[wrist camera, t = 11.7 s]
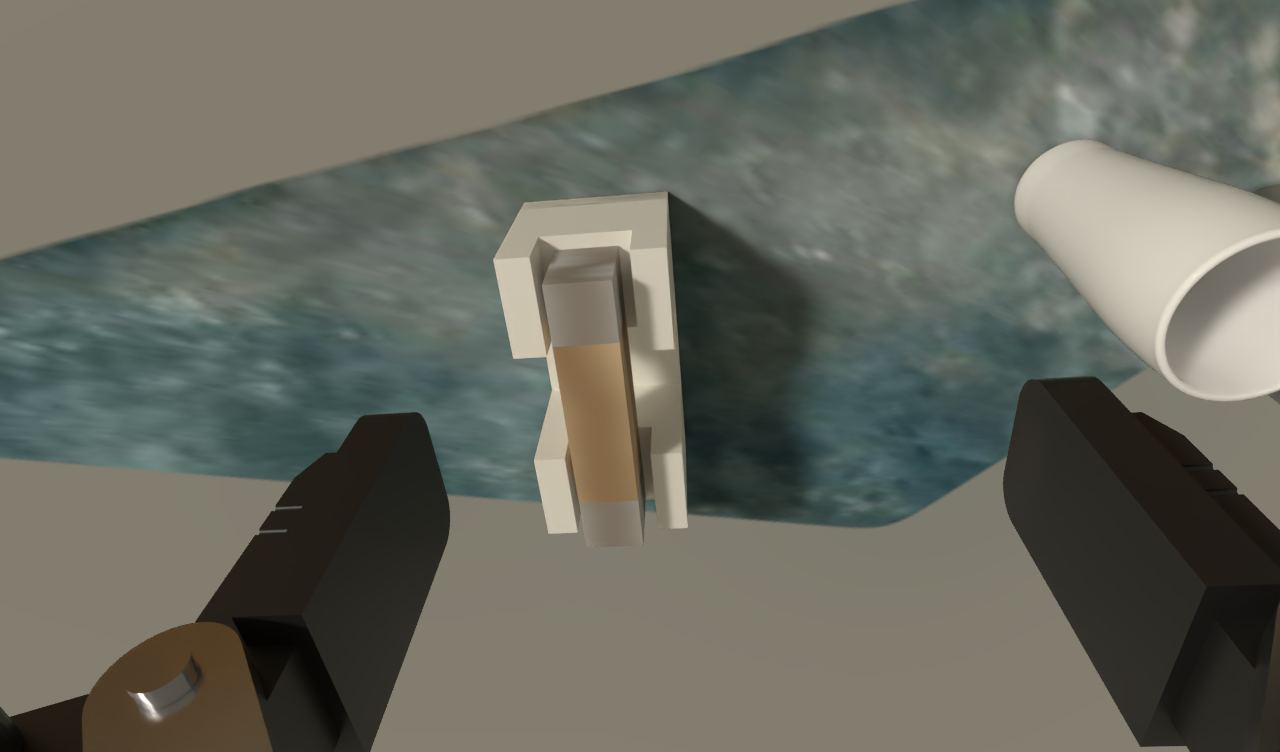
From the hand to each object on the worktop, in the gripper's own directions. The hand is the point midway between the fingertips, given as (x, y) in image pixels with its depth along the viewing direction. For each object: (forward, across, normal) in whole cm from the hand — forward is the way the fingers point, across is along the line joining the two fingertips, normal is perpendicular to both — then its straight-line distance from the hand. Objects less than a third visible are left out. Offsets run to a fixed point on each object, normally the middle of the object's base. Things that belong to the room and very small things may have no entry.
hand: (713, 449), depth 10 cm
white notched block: (+30, +5, +14) cm, 33 cm away
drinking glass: (+30, -19, +7) cm, 36 cm away
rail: (+25, +5, +14) cm, 29 cm away
